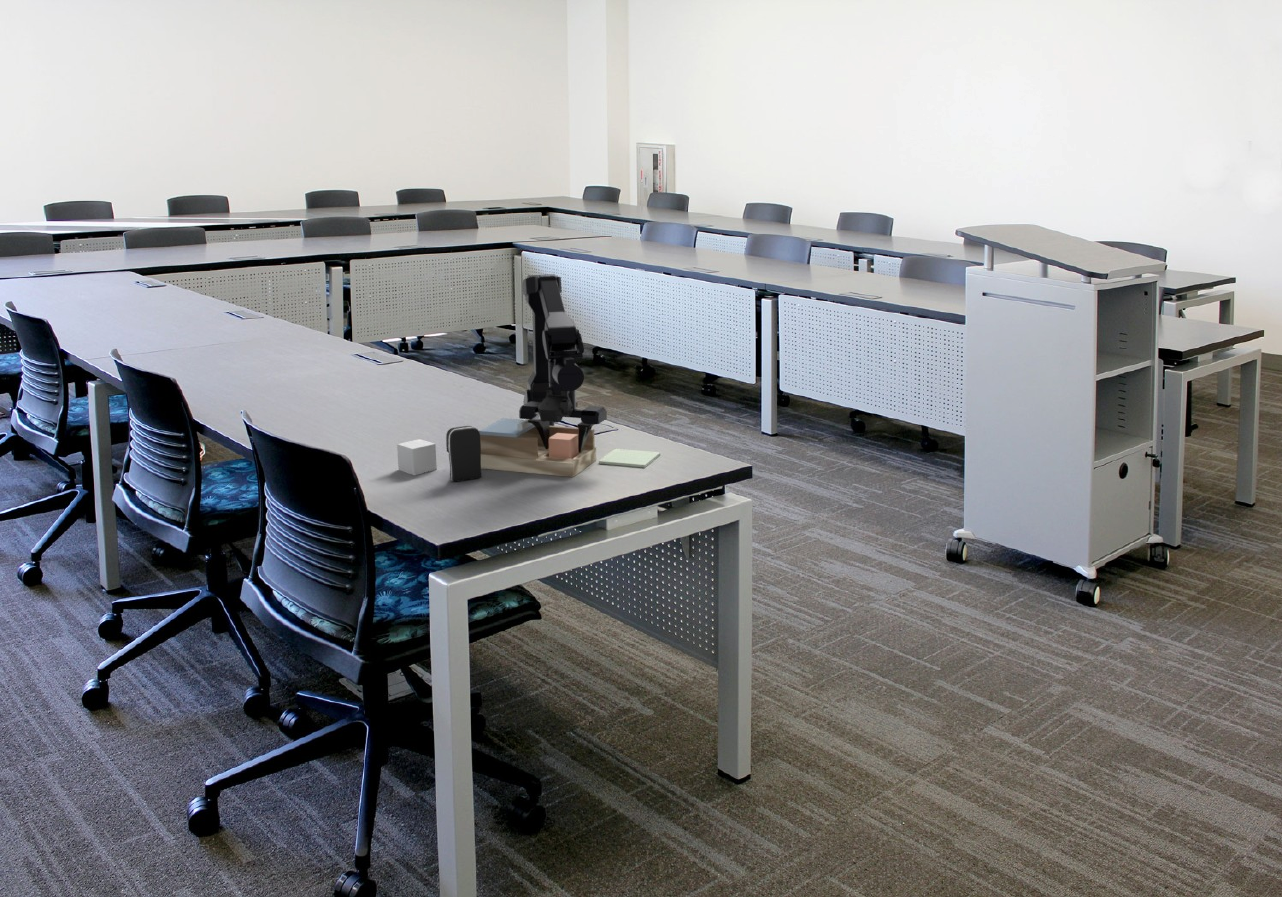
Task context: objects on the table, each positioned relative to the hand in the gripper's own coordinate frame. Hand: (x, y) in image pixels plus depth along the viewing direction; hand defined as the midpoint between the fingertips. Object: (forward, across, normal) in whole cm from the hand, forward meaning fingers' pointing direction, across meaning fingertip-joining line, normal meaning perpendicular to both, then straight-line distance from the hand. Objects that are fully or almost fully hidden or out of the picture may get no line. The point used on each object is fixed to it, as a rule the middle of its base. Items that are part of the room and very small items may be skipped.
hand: (563, 450), depth 260 cm
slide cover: (-4, -13, 0) cm, 14 cm away
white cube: (+4, -30, -12) cm, 33 cm away
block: (+4, 0, 0) cm, 4 cm away
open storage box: (+4, -7, 0) cm, 8 cm away
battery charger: (+4, -17, -15) cm, 23 cm away
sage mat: (+4, +12, +10) cm, 16 cm away
